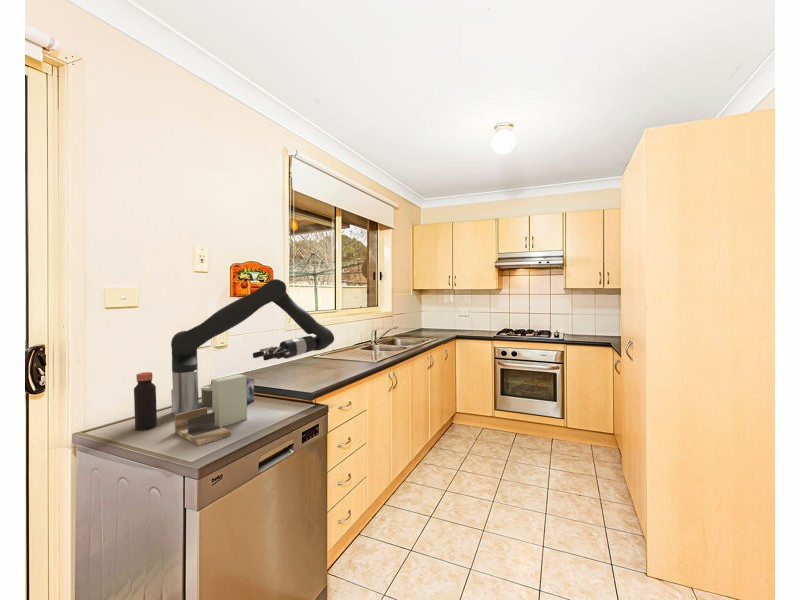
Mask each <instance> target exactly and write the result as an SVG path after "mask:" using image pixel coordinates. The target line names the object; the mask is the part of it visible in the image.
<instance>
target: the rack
mask: <svg viewBox="0 0 800 600" xmlns="http://www.w3.org/2000/svg"><path fill="white" fill-rule="evenodd" d="M174 433H175V434H177V435H178V434H179V435H178V436H180V437H182V438H184V439H185V440H187V439H188V441H189V440H190V442H191V443H193V444H195V445H196V444H197V446H202V444H203V445H206V444H208V442H209V443H211V441H212V442H215V441H217V440H221V439H224V438H223V437H225V438H227V437H226V436H228V437H230V436H229V435H231V436H232V431H231V430H229V429H227V428H225V427H224V426H222V427H220V426H218V425H216V424H215V412H213V411H212V412H209V413H208V406H204V407H200V408H199V409H196V410H192V411H188V412H184V413H180V414H176V415H175V414H174ZM214 440H215V441H214ZM205 443H206V444H205Z"/></svg>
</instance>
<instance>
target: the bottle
mask: <svg viewBox="0 0 800 600" xmlns="http://www.w3.org/2000/svg"><path fill="white" fill-rule="evenodd" d="M152 381H153V372H149V371H148V372H147V371H146V372H144V371H143V372H140V373H136V383H137V384H136V386H134V388H133V400H134V401H133V404H134V405H133V407H134V409H133V410H134V428H135V431H147V429H148V430H151V428H152V429H154V428H156V427H157V425H158V419H157V417H158V416H157V414H158V413H157V411H158V410H157V409H158V408H157V386H156V385H155V383H153V382H152Z"/></svg>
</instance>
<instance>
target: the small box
mask: <svg viewBox="0 0 800 600" xmlns="http://www.w3.org/2000/svg"><path fill="white" fill-rule="evenodd" d="M246 387H247V405H249V404H251V403H253V402H254V401H255V379H254V378H250V377H249V378H247V377H246ZM252 401H253V402H252ZM250 402H251V403H250ZM248 403H249V404H248Z"/></svg>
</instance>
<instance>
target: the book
mask: <svg viewBox="0 0 800 600" xmlns="http://www.w3.org/2000/svg"><path fill="white" fill-rule="evenodd" d="M246 378H247V375H244V374H241V373H238V374H234V375H228V376H224V377H218V378H212V379H211V385H212V406H211V407H212V412H215V424H216V425H218V426H220V427H225V425H226V426H229V425H232V424H235V422H236V423H239V422H242V421H241V420H243V421H246V420H248V404H247V387H246ZM245 419H246V420H245ZM238 421H239V422H238ZM228 424H229V425H228Z"/></svg>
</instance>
